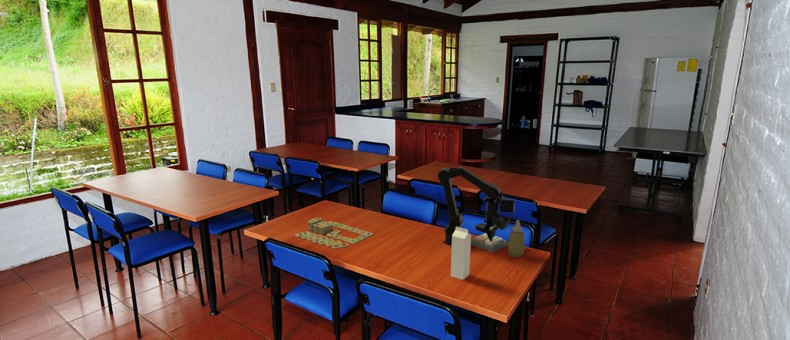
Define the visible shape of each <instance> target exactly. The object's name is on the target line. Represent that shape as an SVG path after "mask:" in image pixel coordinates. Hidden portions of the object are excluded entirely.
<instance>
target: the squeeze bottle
mask: <svg viewBox="0 0 790 340" xmlns="http://www.w3.org/2000/svg"><path fill="white" fill-rule="evenodd" d="M520 222H521V221H520V220H519V219H517V220H515V224H514V225H513V226H512V227H511V228H512V229H511V230H510V231H509V236H508V241H507V246H506V247H507V251H508V255H509V256H510V257H512V258H516V259H517V258H521V257H522V256H523V254H524V252H525V248H526V247H525V232H524V231H523V227H522V226H521V223H520Z"/></svg>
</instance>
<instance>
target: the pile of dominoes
mask: <svg viewBox="0 0 790 340" xmlns="http://www.w3.org/2000/svg"><path fill="white" fill-rule="evenodd" d="M333 227H334V228H338V229H341V230H345V231H349V232H352V233H354V234H355V233H356V234H358V235H359V236H357V237H355V238H351V237H346V236H344V235H341V231H340V230H337V229H335V230H333ZM307 230H308V231H303V232H298V233H295V234H294V236H295V237H296V238H301V239H302V240H306V241H309V242H312V243H314V244H319V245H320V246H323V245H325V246H326V247H331V248H333V249H334V250H338V249H342V248H346V247H349V244H351V245H353V244H354V245H355V244H357V243H359V242H361V241H363V240H366V239H367V238H369V237H372V236H374V233H373V232H370V231H366V230H362V229H359V228H357V227H356V228H355V227H351V226H349V225H345V224H341V223H339V222H335V221H332V220H331V221H325V220H323V219H322V217H315V218H313V219H309V220H308V221H307ZM314 232H315V233H314ZM317 233H318V234H317ZM322 235H326V236H322ZM328 237H329V238H328ZM334 239H336V240H334ZM341 241H343V242H341ZM348 243H349V244H348Z"/></svg>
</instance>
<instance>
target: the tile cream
mask: <svg viewBox="0 0 790 340" xmlns="http://www.w3.org/2000/svg"><path fill="white" fill-rule="evenodd" d="M496 243H497V241H495V240H492V241H490V240H489V239H488V240H486V241H485V244H486V245H489V246H494V245H496Z"/></svg>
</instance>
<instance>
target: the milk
mask: <svg viewBox="0 0 790 340" xmlns="http://www.w3.org/2000/svg"><path fill="white" fill-rule="evenodd" d="M471 240H472V234H471V233H469V229H467V228H463V227H461V228H460V227H456V230H455V232H454V233H453V235H452V246H451V255H450V257H451V260H450V261H451V262H450V266H451V267H450V277H452V278H455V279H458V280H462V281H464V280H465V279H466V278H467V277H469V276H470V269H471V268H470V266H471V265H470V264H471V246H472V245H471Z"/></svg>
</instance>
